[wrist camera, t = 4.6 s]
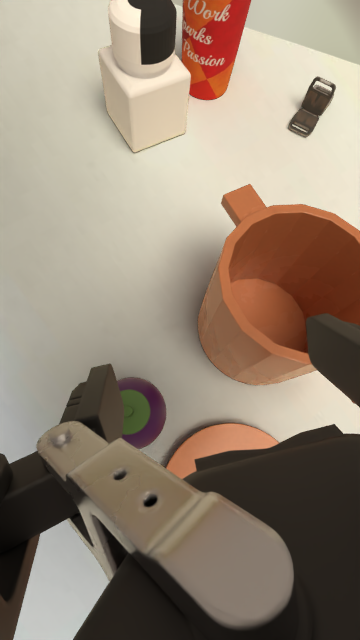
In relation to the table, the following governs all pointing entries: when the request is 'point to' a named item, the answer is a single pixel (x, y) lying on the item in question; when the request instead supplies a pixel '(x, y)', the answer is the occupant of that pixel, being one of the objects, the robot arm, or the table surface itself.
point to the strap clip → (313, 106)
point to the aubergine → (141, 411)
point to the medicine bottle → (144, 73)
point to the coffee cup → (211, 43)
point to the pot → (276, 287)
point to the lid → (216, 445)
